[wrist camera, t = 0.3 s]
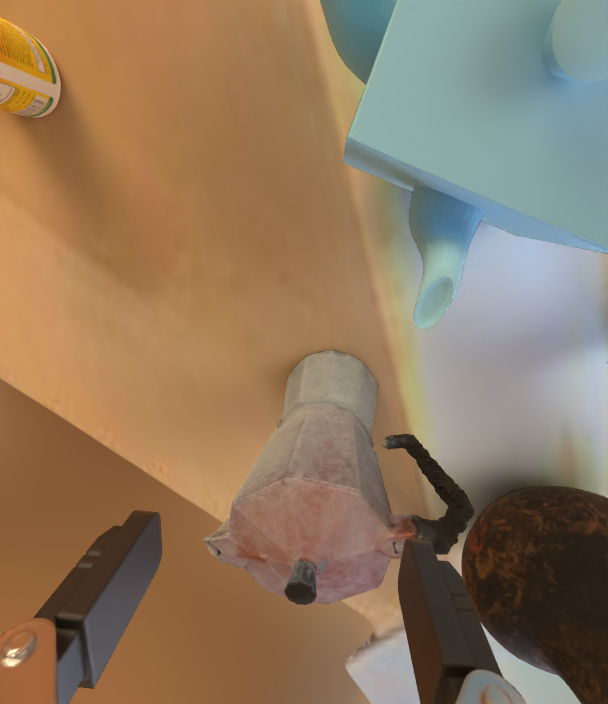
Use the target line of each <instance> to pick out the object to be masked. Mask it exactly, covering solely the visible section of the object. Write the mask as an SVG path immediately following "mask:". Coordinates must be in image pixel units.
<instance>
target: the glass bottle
mask: <svg viewBox="0 0 608 704" xmlns="http://www.w3.org/2000/svg"><path fill="white" fill-rule="evenodd" d="M462 578H463V582H464V584H465V586H466V589H467V591H468V594H469V598H470V599H471V601H472V603H473V606H474V608H475V613H477V616H478V618H479V620H480V622H481V623H482V625H483V626H484V627H485V629H486V630H487V631H488V632H489V633H490V634H491V636H492V637H493V638H494V639H495V640H496V641H497V642H498V643H499V644H501V645H502V646H503V647H504V648H505V649H507V650H508V651H509V652H510V653H512V654H513V655H514V656H516V657H517V658H519V659H521V660H523V661H525V662H527V663H529V664H530V665H533V666H534V667H537V668H539V669H542V670H544V671H546V672H549V673H553V674H556V675H559V676H560V677H561V678H562V679H563V680H564V681H565V682H566V684H567V685H568V686H569V687H570V689H571V690H572V691H573V693H574V694H575V695H576V697H577V698H578V700H579V701H580V702H581V704H608V498H606V497H603V496H600V495H597V494H594V493H591V492H587V491H584V490H580V489H575V488H569V487H560V486H537V487H530V488H524V489H520V490H517V491H514V492H511V493H509V494H507V495H505V496H503V497H501V498H499V499H497V500H496V501H495V502H493V503H492V504H490V505H489V506H488V507H487V508H486V509H485V510H484V511H483V512H482V513H481V514H480V515H479V517H478V518H477V519H476V521H475V522H474V524H473V525H472V527H471V529H470V531H469V533H468V535H467V538H466V541H465V544H464V548H463V553H462Z"/></svg>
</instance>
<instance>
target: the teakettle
mask: <svg viewBox="0 0 608 704" xmlns="http://www.w3.org/2000/svg"><path fill="white" fill-rule="evenodd" d="M320 2H321V5H322V9H323V12H324V15H325V19H326V22H327V26H328V29H329V32H330V35H331V38H332V41H333V43H334V45H335V48H336V50H337V52H338V54H339V56H340V57H341V59H342V60H343V61H344V63H345V64H346V66H347V67H348V68H349V69H350V70H351V71H352V72H353V73H354V74H355V75H356V76H357V77H358V78H359V79H360V80H361V81H362V82H363V83H364V84H366V87H365V89H364V92H363V95H362V98H361V100H360V103H359V106H358V109H357V111H356V114H355V117H354V120H353V122H352V125H351V128H350V131H349V133H348V136H347V139H346V144H345V151H344V159H343V163H345V164H347V165H350V166H352V167H354V168H357V169H359V170H362V171H364V172H366V173H369V174H371V175H373V176H376V177H378V178H380V179H383V180H385V181H388V182H390V183H392V184H395V185H397V186H399V187H402V188H404V189H407V190H409V191H411V192H413V194H412V198H411V204H410V210H409V223H410V229H411V233H412V236H413V238H414V240H415V242H416V245H417V247H418V249H419V251H420V253H421V256H422V260H423V268H424V271H423V280H422V284H421V287H420V291H419V294H418V297H417V301H416V305H415V311H414V321H415V324H416V326H417V327H418V328H420V329H428V328H430V327H432V326H433V325H435V324H436V323H437V322H438V321H439V320H440V319H441V317H442V316H443V315H444V314H445V312H446V311H447V309H448V308H449V306H450V304H451V302H452V300H453V298H454V296H455V294H456V291H457V288H458V285H459V282H460V278H461V275H462V271H463V267H464V263H465V258H466V253H467V249H468V246H469V244H470V241H471V239H472V237H473V235H474V233H475V231H476V229H477V227H478V225H479V223H480V221H483V222H486V223H488V224H490V225H493V226H495V227H498V228H500V229H502V230H505V231H507V232H510V233H512V234H514V235H517V236H521V237H526V238H532V239H537V240H542V241H547V242H552V243H557V244H562V245H567V246H572V247H577V248H582V249H587V250H592V251H597V252H602V253H608V0H320Z"/></svg>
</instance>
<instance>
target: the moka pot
mask: <svg viewBox="0 0 608 704" xmlns="http://www.w3.org/2000/svg"><path fill="white" fill-rule="evenodd" d="M377 392H378V382H377V381H376V379H375V377H374V376H373V374H372V372H371V371H370V370H369V368H368V367H367V366H366V365H365V364H364V363H363V362H362V361H361V360H359V359H357V358H355V357H353V356H350V355H348V354H345V353H342V352H338V351H335V350H331V351H323V352H320V353H316V354H311V355H309V356H307V357H305V358H304V359H303V360H301V361H300V362H299V364H298V365H297V366H296V367H295V368H294V369H293V370H292V372H291V373H290V375H289V377H288V380H287V386H286V394H285V401H284V408H283V414H282V419H281V420H280V421H279V422H278V428H277V429H276V430H275V431H274V432H273V433H272V435H271V437H270V438H269V440H268V442H267V443H266V445H265V447H264V449H263V450H262V452H261V453H260V455H259V457H258V459H257V460H256V462H255V464H254V465H253V467H252V469H251V471H250V472H249V474H248V476H247V477H246V479H245V481H244V482H243V484H242V486H241V487H240V489H239V491H238V492H237V494H236V496H235V497H234V499H233V502H232V507H231V513H230V517H229V518H228V519H227V520H226V521H225V522H224V523H223V524H222V525H221V526H220V527H219V528H218V529H217V530H216V531H215V532H214V533H213V534H211V535H209V536H207V537H205V538H204V541H205V543H206V545H207V547H208V548H209V550H210V552H211V553H212V555H213V556H215V557H217V559H219V560H220V561H221V562H223V563H227V564H229V565H233V566H236V567H239V568H244V569H245V570H246V571H247V572H248V573H250V575H252V577H253V578H254V579H255V580H256V581H257V582H258V583H259V584H260V585H261V586H262V587H263V588H265V590H267V591H271V592H275V593H278V594H282V595H286V596H287V598H288V599H289V600H290V601H292V602H294V603H296V604H302V605H307V604H310V603H312V602H316V603H320V604H330V603H333V602H335V601H339V600H342V599H345V598H348V597H351V596H354V595H357V594H360V593H363V592H366V591H369V590H372V589H375V588H377V587H379V586H380V584H381V583H382V581H383V578H384V575H385V572H386V570H387V567H388V564H389V562H390V560H391V558H402V553H403V547H404V542H405V539H415V540H425V541H430V542H431V543H432V545H433V548H434V551H435V553H436V554H439V555H441V554H448V553H449V551H450V549H451V547H452V546H453V545H454V544H455V543H457V542H458V538H457V537H458V534H459V533H463V532H464V531H465V530H466V528H467V522H468V521H469V520H470V519H471V518H472V516H473V515H474V509H473V507H472V505H471V503H470V501H469V499H468V497H467V495H466V494H465V492H464V491H463V490H462V489H460V488H459V486H458V484H455V482H454V480H453V479H452V478H451V477H450V476H448V475H447V474H446V473H445V472H444V470H443V469H442V468H441V466H439V465H438V463H437V461H435V460H434V459H433V458H431V457H430V454H429V452H428V451H427V450H426V449H425V448H423V446H422V444H421V443H419V441H418V440H417V439H416V437H415V436H414V435H410V434H401V435H390V436H387V437H386V438H385V441H383V444H382V445H383V446H384V447H385V448H387V449H396V448H404V449H406V450H407V452H408V453H409V454H410V455H411V456H412V457H413V458H415V459H416V460H417V461H416V462H417V464H418V466H419V468H420V469H421V470H422V473H423V474H424V475H425V476H426V477H427V479H428V481H429V482H430V483H431V484H432V485H433V486H434V488H435V491H436V493H437V494H438V495H439V496H440V498H441V499H442V500H443V501H444V502H445V503H446V504H447V505H448V509H447V511H446V514H445V516H444V517H441V518H439V520H428V519H423V518H421V517H419V516H417V515H413V514H398V515H394V514H392V512H391V509H390V505H389V501H388V498H387V493H386V490H385V486H384V482H383V479H382V475H381V470H380V466H379V463H378V458H377V455H376V452H375V451H373V441H372V438H371V433H372V425H373V420H374V415H375V408H376V400H377Z"/></svg>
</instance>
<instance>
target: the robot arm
mask: <svg viewBox="0 0 608 704" xmlns="http://www.w3.org/2000/svg"><path fill="white" fill-rule="evenodd" d="M161 556H162V539H161V521H160V514H159V513H158V512H148V511H139V510H135V511H134V512H132V514H131V515H130V516H129V517H128V519H127V520H126V522H125V523H124V524H123V525H122V527H121V526H113V527H112V528H110V529H109V530H108V531H106V532H105V533H104V534H102V535H101V536H99V537H98V538H97V539H96V541H95V542H94V543H93V544H92V546H91V547H90V548H89V550H88V551H87V552H86V555H84V556H83V557H82V558H81V559H80V561H79V562H78V563H77V565H76V567H74V568H73V570H72V571H71V572H70V573H69V574H68V576H67V577H66V578H65V579H64V580H63V582H62V583H61V584H60V585H59V587H58V588H57V589H56V590H55V592H54V593H53V594H52V595H51V597H50V598H49V599H48V601H47V602H46V603H45V604H44V605H43V607H42V608H41V609H40V610H39V611H38V613H37V614H36V615H35V616H34V617H33V618H32V619H28V620H25V621H23V622H20V623H18V624H16V625H14V626H12V627H11V628H9V629H8V630H6V631H5V632H3V633H2V634H1V635H0V704H69V702H70V701H71V699H72V697H73V695H74V694H75V692H76V690H77V689H78V687H83V688H91V689H94V687H95V686H96V684H97V682H98V680H99V678H100V676H101V674H102V672H103V671H104V669H105V667H106V665H107V663H108V661H109V659H110V658H111V655H112V654H113V652H114V650H115V648H116V646H117V644H118V643H119V641H120V639H121V637H122V635H123V633H124V631H125V629H126V627H127V626H128V624H129V622H130V620H131V618H132V617H133V615H134V613H135V611H136V609H137V607H138V605H139V603H140V601H141V600H142V598H143V596H144V594H145V592H146V590H147V588H148V586H149V585H150V583H151V581H152V579H153V577H154V575H155V574H156V571H157V569H158V567H159V564H160V560H161ZM398 593H399V600H400V605H401V610H402V615H403V620H404V625H405V630H406V635H407V640H408V644H409V649H410V654H411V659H412V664H413V669H414V674H415V679H416V684H417V688H418V693H419V698H420V703H421V704H526V702H525V700H524V699H523V697H522V696H521V694H520V693H519V692H518V691H517V690H516V688H515V687H514V686H513V685H511V684H510V683H509V682H508V681H507V680H505V679H504V677H503V676H502V674H501V672H500V669H499V667H498V664H497V662H496V660H495V657H494V655H493V652H492V650H491V647H490V645H489V643H488V640H487V638H486V635H485V633H484V630H483V628H482V625H481V623H480V621H479V618H478V616H477V613H475V608H474V606H473V603H472V601H471V599H470V598H469V594H468V591H467V589H466V586H465V584H464V582H463V579H462V577H461V576H460V574H459V573H458V572H457V571H456V570H455V568H454V567H453V566H452V565H451V564H450V562H448V561H438V559H437V556H436V553H435V551H434V548H433V545H432V543H431V542H430V541H425V540H415V539H405V542H404V547H403V553H402V558H401V564H400V570H399V576H398Z"/></svg>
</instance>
